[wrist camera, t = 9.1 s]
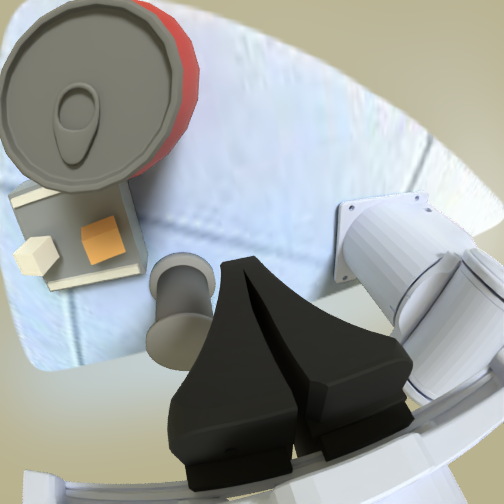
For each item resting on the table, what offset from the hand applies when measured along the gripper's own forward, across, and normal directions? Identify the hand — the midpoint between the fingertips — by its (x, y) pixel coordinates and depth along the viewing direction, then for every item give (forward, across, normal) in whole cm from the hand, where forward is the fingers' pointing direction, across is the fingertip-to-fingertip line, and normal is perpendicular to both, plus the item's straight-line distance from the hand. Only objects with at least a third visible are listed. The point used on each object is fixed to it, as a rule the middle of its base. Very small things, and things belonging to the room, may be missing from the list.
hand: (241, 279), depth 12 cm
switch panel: (+10, +10, 0) cm, 14 cm away
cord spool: (+10, +4, +7) cm, 13 cm away
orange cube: (+8, +8, 0) cm, 11 cm away
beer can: (+11, +4, -8) cm, 14 cm away
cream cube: (+8, +12, 0) cm, 14 cm away
